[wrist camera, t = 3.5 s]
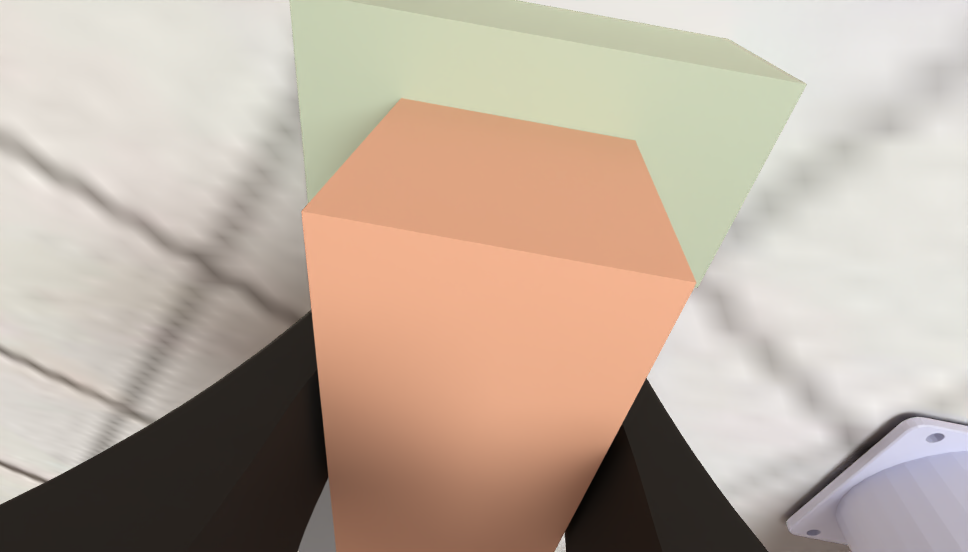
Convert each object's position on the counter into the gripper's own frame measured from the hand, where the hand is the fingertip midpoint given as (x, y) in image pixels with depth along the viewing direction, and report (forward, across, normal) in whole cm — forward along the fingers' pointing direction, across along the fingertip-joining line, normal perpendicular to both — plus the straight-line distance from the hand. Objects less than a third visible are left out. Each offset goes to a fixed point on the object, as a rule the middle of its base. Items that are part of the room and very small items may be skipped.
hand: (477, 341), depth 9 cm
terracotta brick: (+1, 0, 0) cm, 1 cm away
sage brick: (+5, 0, -4) cm, 6 cm away
